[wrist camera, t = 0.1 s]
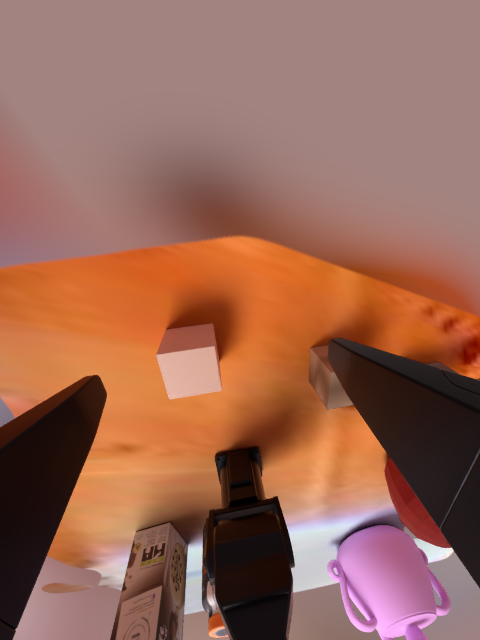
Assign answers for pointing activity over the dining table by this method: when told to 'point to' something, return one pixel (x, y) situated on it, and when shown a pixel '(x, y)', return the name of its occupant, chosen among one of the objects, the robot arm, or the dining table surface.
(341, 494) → the dining table surface
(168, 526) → the coffee box
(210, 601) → the pill bottle
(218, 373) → the pale pink cube
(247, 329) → the dining table surface
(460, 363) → the dining table surface
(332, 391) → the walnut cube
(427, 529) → the apple
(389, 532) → the pink pot
